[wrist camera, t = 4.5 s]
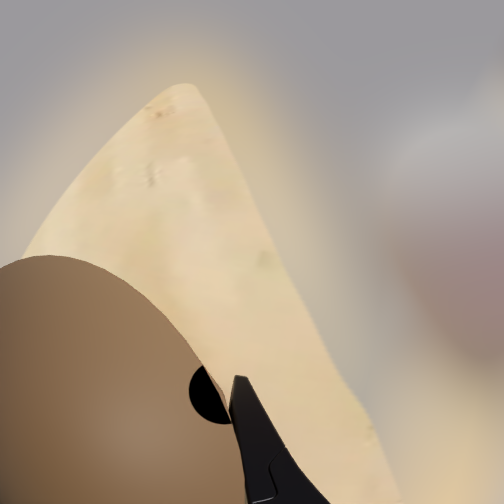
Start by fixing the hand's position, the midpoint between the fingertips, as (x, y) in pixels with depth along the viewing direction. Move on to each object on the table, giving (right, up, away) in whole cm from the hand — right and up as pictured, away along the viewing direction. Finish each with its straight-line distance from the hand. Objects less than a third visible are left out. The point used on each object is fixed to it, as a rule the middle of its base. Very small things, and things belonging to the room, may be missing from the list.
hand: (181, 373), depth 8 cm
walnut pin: (-1, -4, +5) cm, 7 cm away
